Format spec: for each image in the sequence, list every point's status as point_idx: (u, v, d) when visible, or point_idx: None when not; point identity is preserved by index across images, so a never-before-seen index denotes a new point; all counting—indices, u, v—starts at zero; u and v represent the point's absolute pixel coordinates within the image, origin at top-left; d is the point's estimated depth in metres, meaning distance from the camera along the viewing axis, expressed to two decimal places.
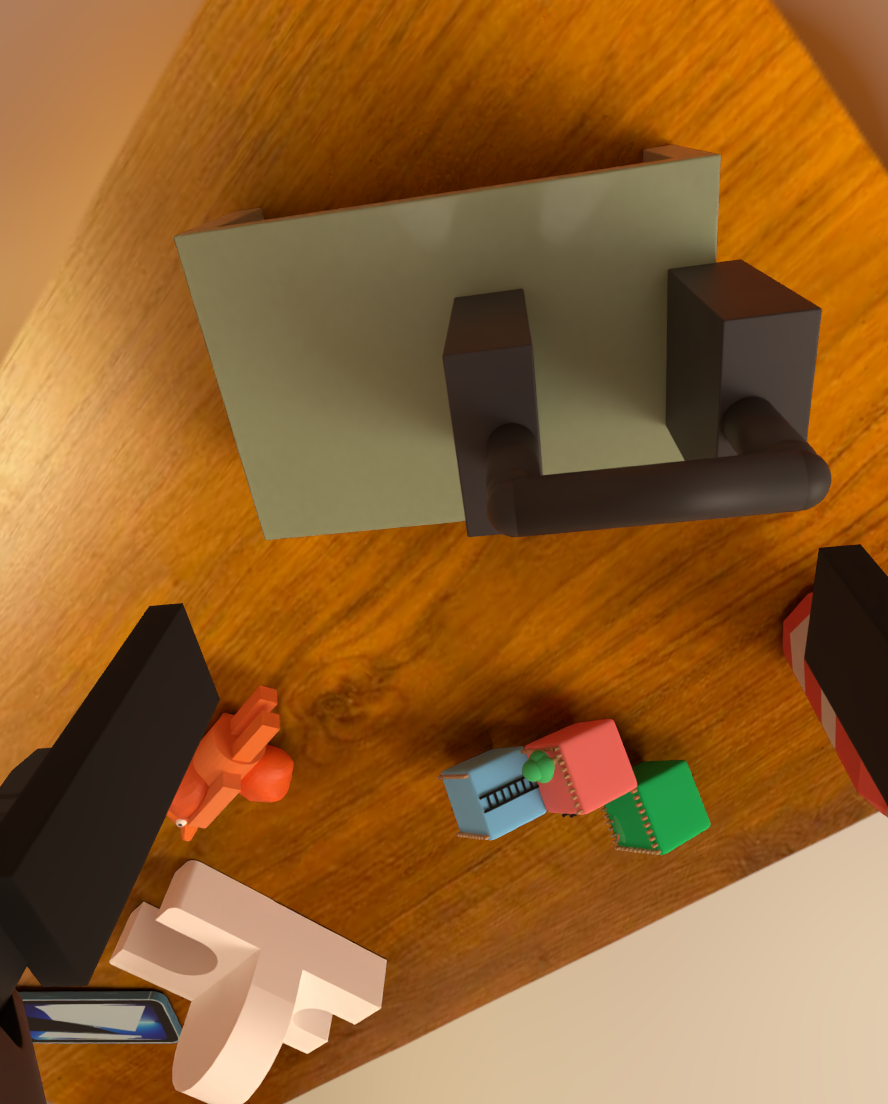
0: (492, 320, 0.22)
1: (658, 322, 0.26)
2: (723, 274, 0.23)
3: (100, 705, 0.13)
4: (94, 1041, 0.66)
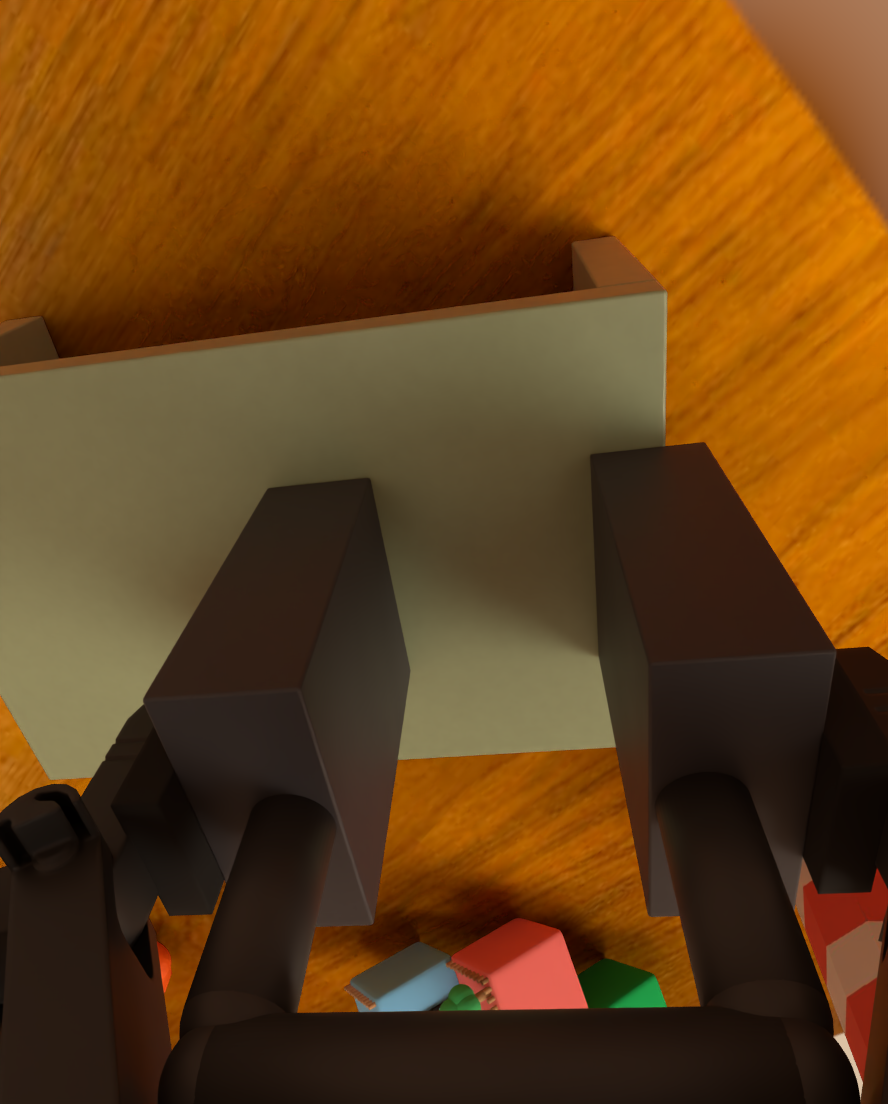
0: (281, 577, 0.13)
1: (580, 525, 0.17)
2: (671, 485, 0.14)
3: None
4: None
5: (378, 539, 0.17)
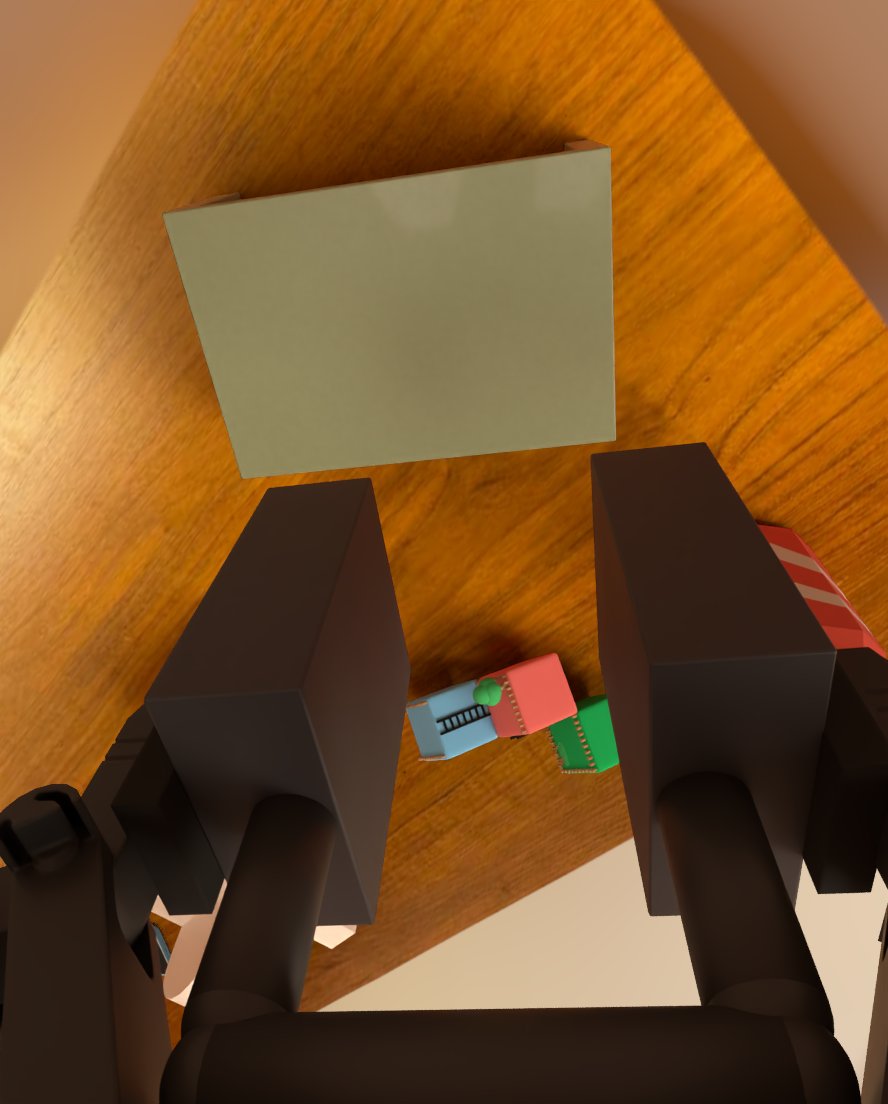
0: (282, 577, 0.13)
1: (567, 287, 0.31)
2: (672, 485, 0.14)
3: None
4: None
5: (379, 539, 0.17)
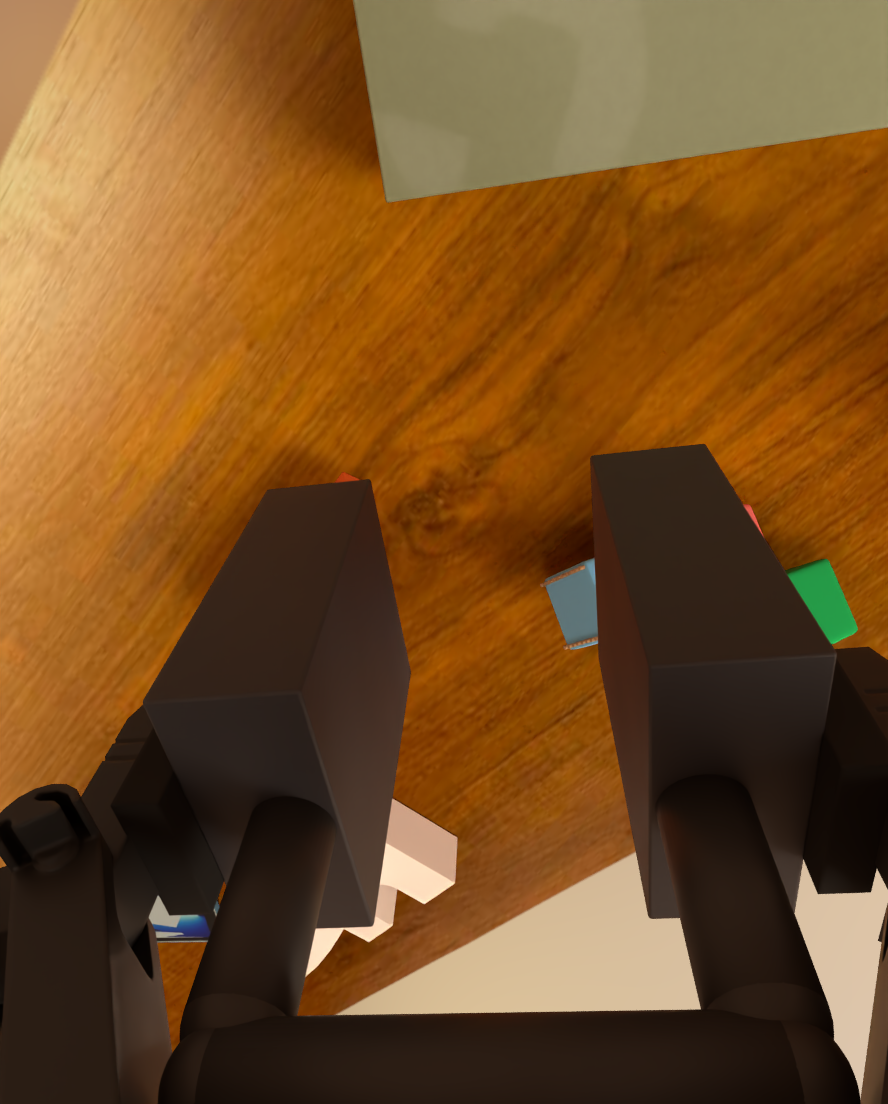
0: (281, 579, 0.13)
1: None
2: (671, 487, 0.14)
3: None
4: None
5: (378, 541, 0.17)
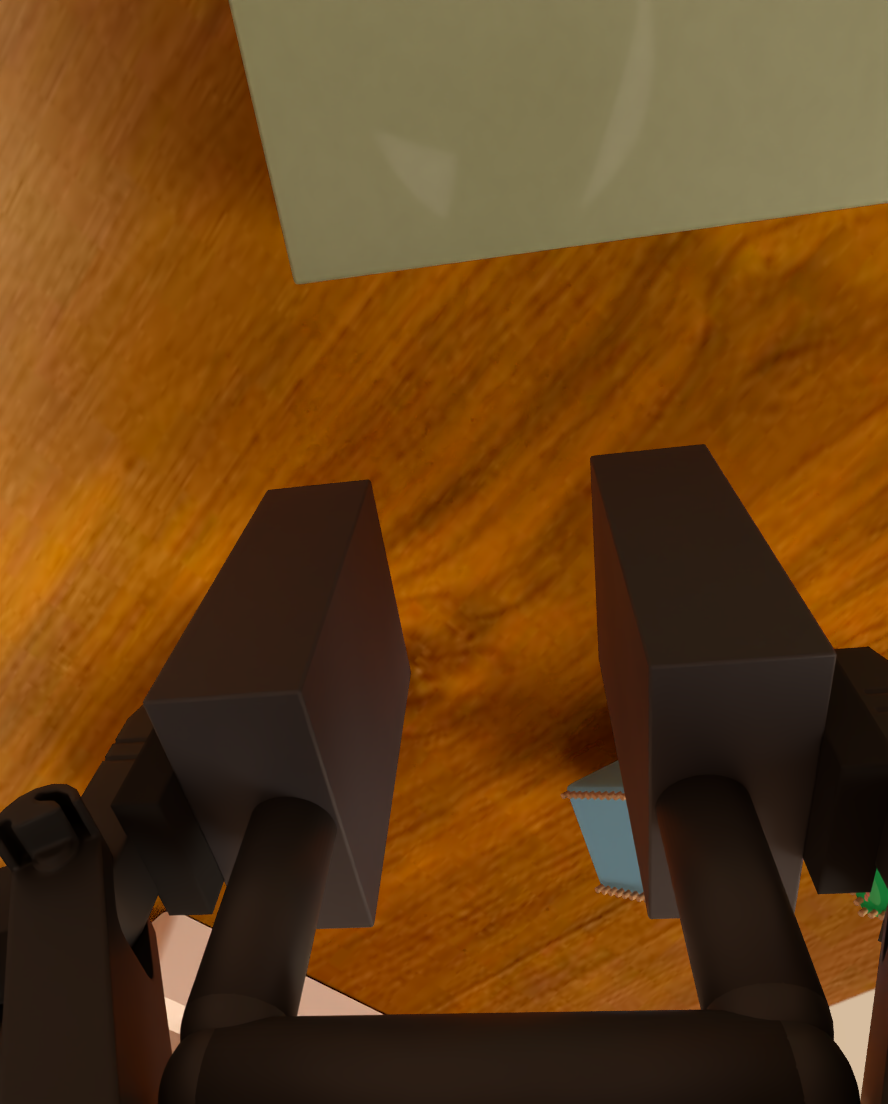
0: (281, 579, 0.13)
1: None
2: (671, 487, 0.14)
3: None
4: None
5: (378, 541, 0.17)
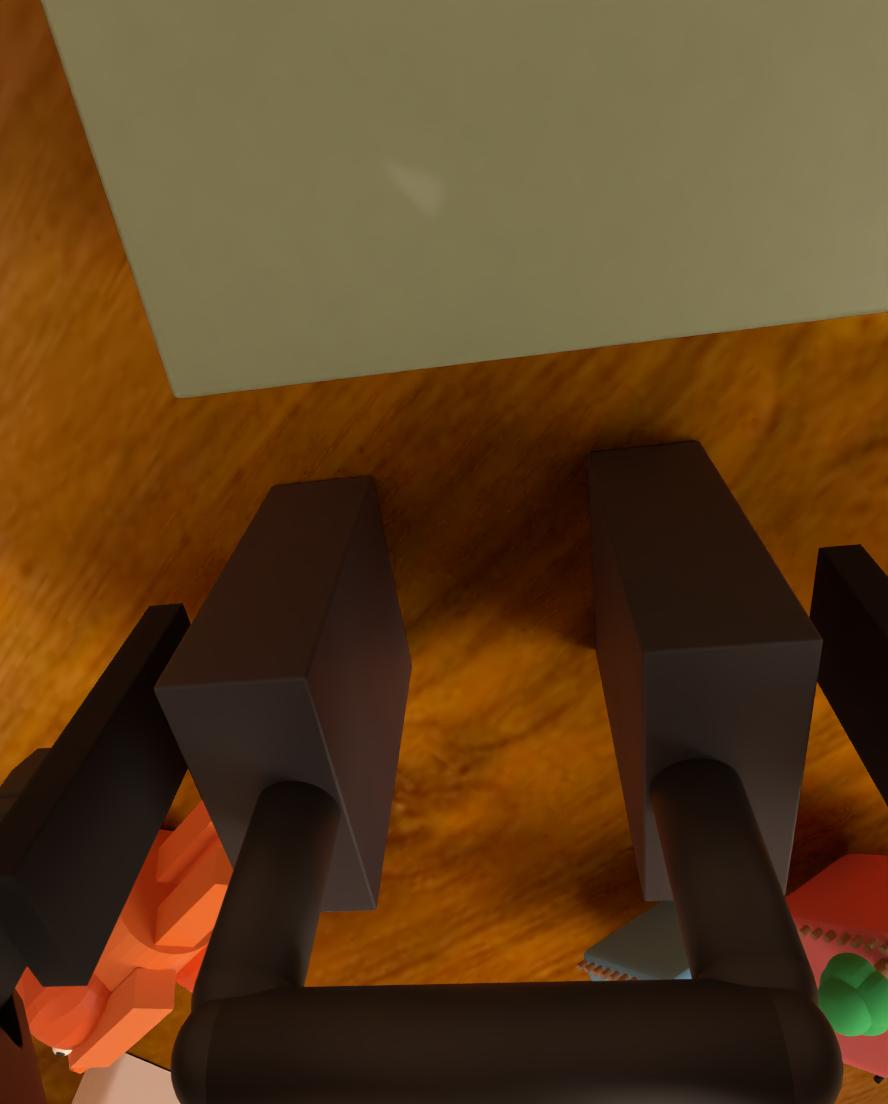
0: (286, 571, 0.14)
1: None
2: (666, 483, 0.14)
3: (100, 705, 0.13)
4: None
5: (380, 536, 0.17)
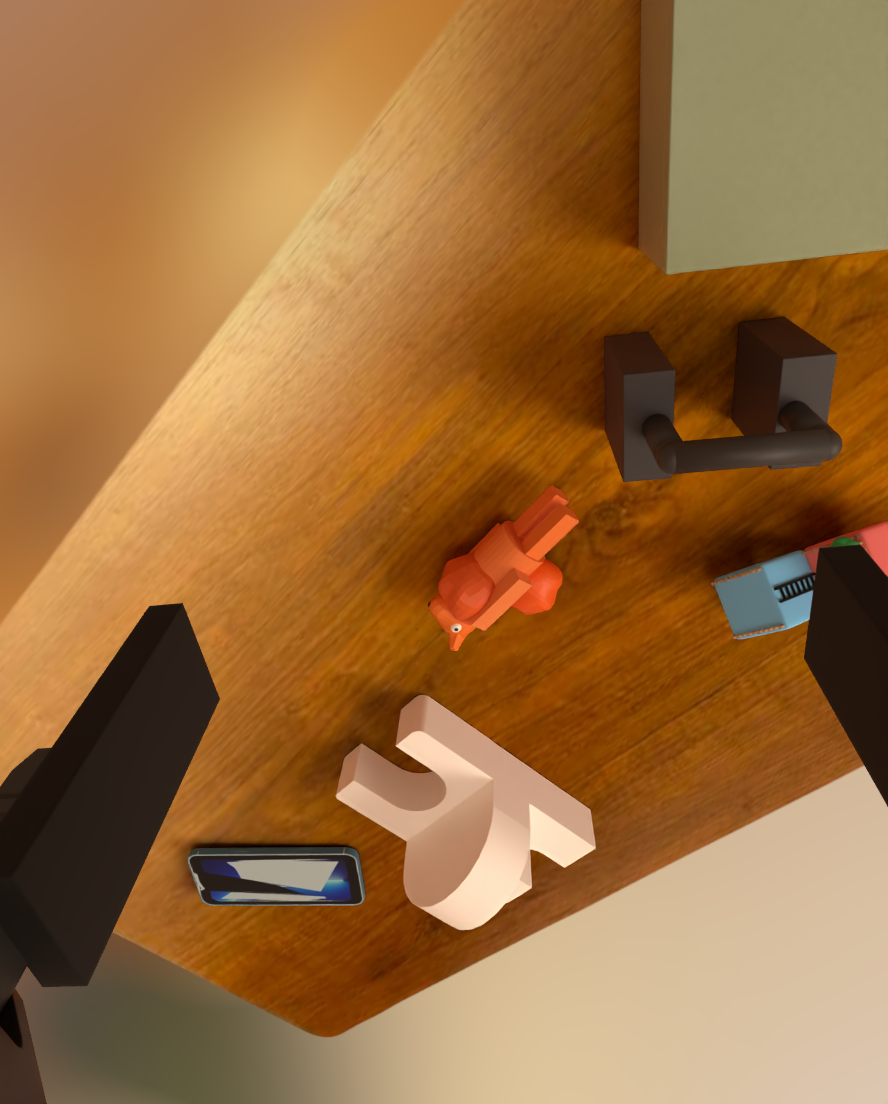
0: (641, 353, 0.37)
1: None
2: (776, 327, 0.38)
3: (100, 705, 0.13)
4: (276, 903, 0.67)
5: None
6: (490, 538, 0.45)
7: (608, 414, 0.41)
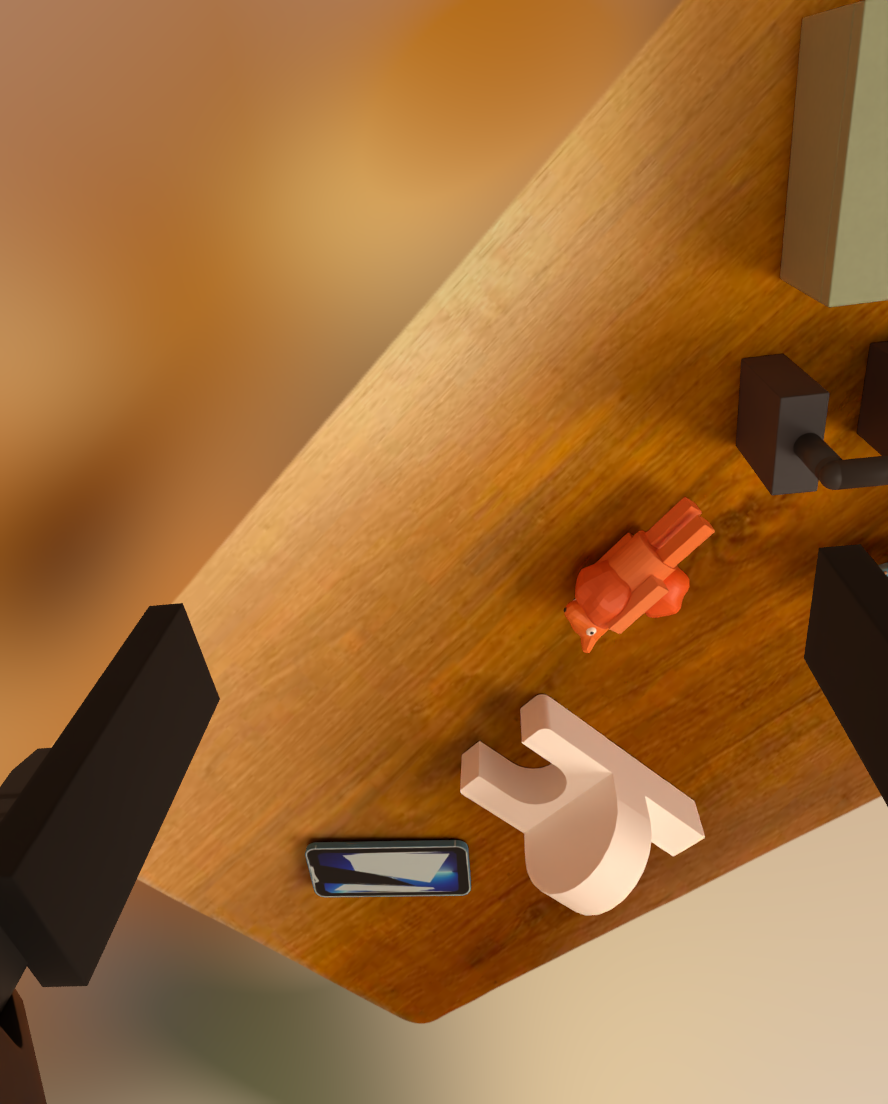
0: (787, 376, 0.40)
1: None
2: None
3: (100, 705, 0.13)
4: (386, 894, 0.71)
5: None
6: (625, 547, 0.48)
7: (744, 431, 0.44)
